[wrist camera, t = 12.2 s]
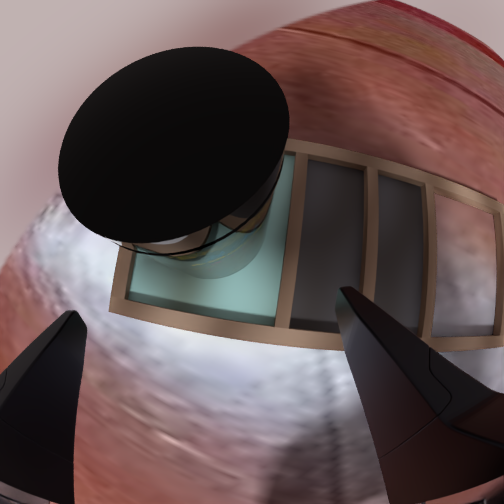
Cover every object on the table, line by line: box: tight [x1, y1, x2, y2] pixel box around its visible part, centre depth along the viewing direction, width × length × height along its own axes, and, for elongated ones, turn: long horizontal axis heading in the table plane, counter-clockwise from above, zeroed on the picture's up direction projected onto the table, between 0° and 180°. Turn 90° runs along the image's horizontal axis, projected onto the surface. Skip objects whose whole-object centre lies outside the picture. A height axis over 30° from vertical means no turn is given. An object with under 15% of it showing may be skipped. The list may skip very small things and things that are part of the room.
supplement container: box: [58, 47, 289, 279], centre depth 11 cm, size 7×7×10 cm
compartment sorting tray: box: [109, 138, 504, 352], centre depth 16 cm, size 31×13×1 cm, turn 82°
